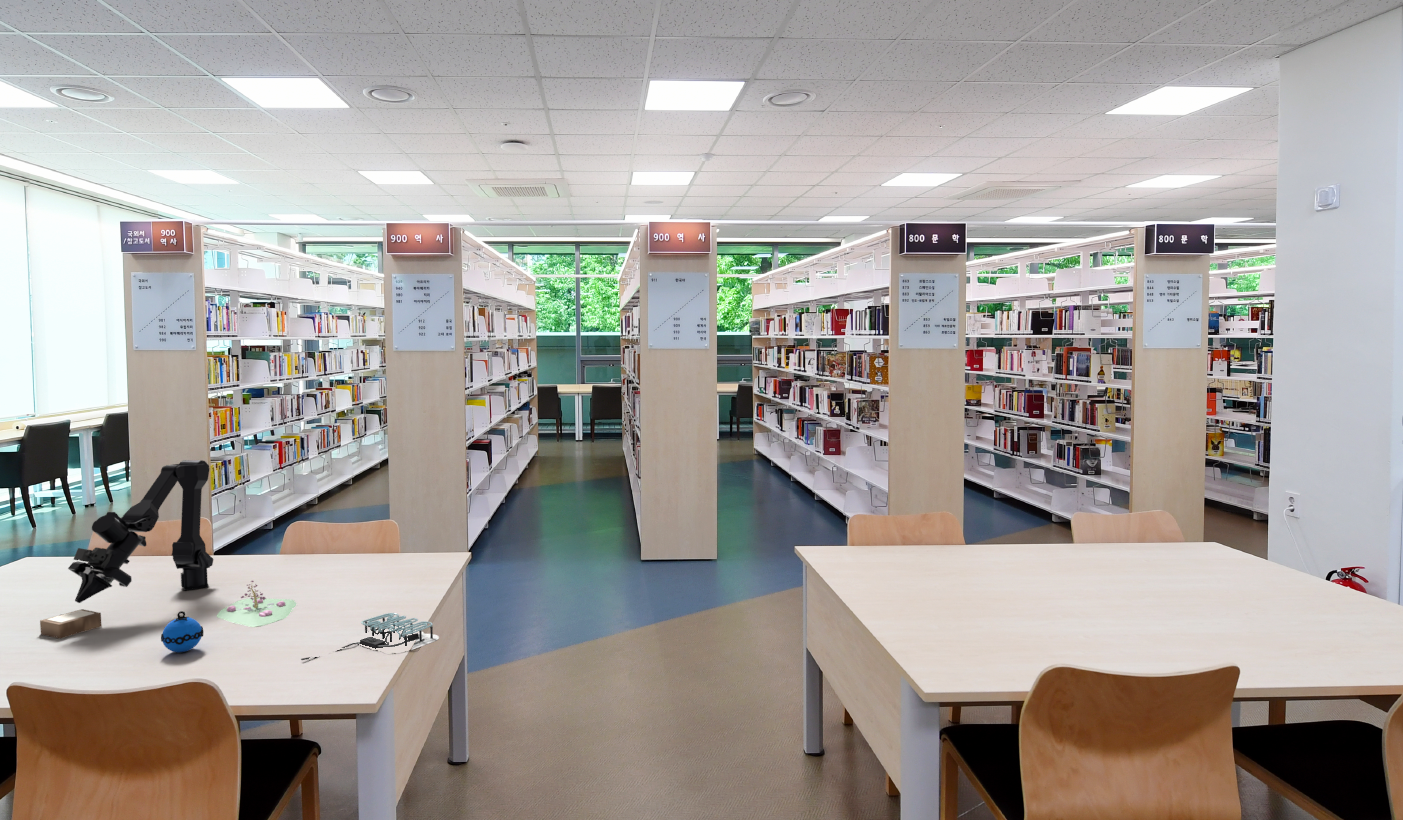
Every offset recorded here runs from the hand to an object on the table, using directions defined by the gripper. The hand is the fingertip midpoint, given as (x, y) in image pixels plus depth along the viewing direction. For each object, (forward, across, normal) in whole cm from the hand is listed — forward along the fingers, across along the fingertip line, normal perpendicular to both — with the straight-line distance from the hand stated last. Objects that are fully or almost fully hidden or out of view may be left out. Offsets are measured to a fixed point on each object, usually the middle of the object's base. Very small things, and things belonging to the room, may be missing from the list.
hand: (77, 602), depth 214 cm
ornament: (+5, +42, +5) cm, 42 cm away
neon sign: (-9, +81, +20) cm, 84 cm away
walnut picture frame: (+2, 0, +6) cm, 6 cm away
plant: (-14, +33, +26) cm, 44 cm away
